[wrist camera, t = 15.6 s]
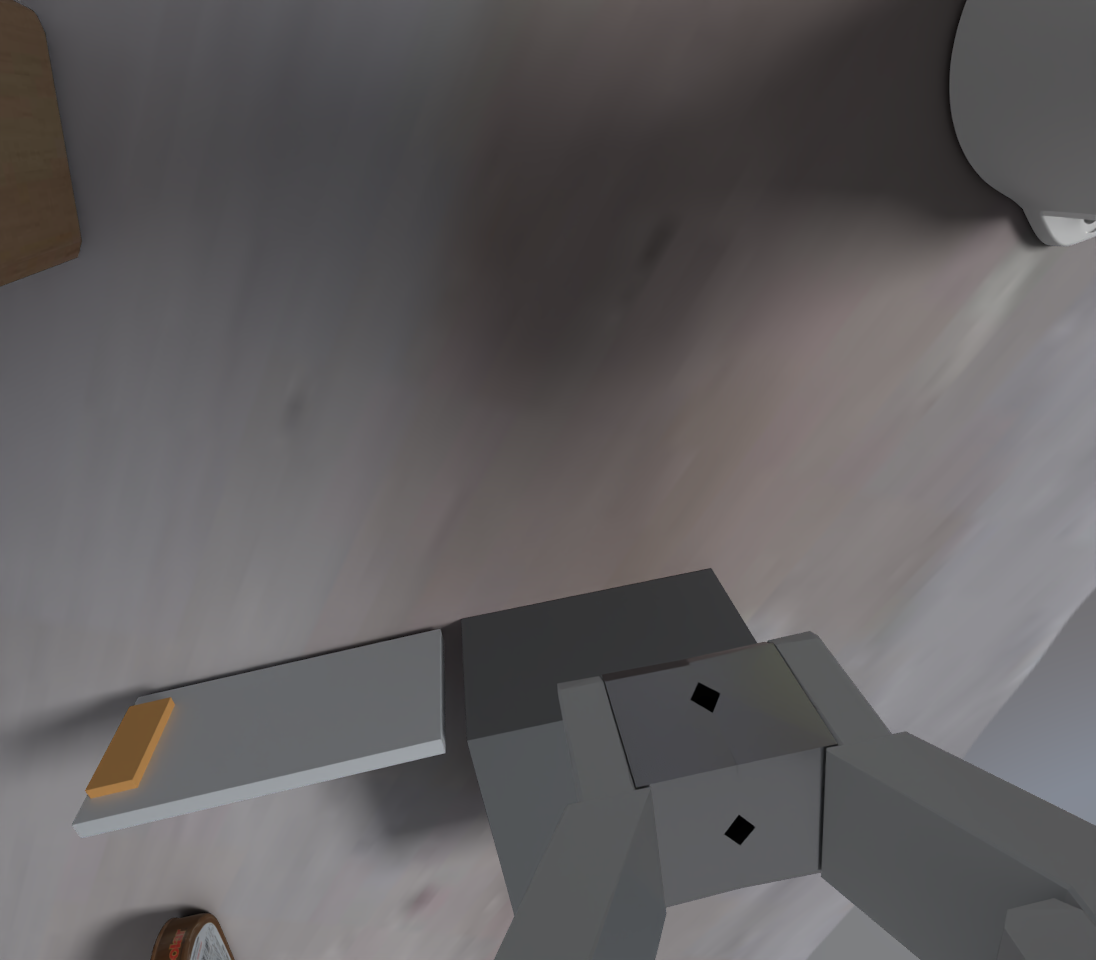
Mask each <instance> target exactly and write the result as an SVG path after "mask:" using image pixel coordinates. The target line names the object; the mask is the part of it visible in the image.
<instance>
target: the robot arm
mask: <svg viewBox="0 0 1096 960" xmlns="http://www.w3.org/2000/svg"><path fill="white" fill-rule="evenodd" d="M949 93H950V106H951V114H952V119H953V124H954V128H955V132H956V135H957V138H958V141H959V143H960V146H961V148H962V150H963V152H964V154H965V156H966V158H967V160H968V161H969V163H970V164H971V166H972V167H973V168H974V170H975V171H976V172H977V173H978V175H979V176H980V177H981V178H982V179H983V180H984V181H985V182H987V183H988V184H989V185H990V186H991V187H993V188H994V189H996V190H997V191H999V192H1000V193H1002V194H1004V195H1005V196H1007V197H1009V198H1010V199H1012V200H1013V201H1014V202H1016V203H1017V204H1018V205H1019V206H1020V207H1021V208H1022V209H1023V211H1024V213H1025V215H1026V217H1027V219H1028V221H1029V223H1030V225H1031V227H1032V229H1033V231H1034V232H1035V234H1036V235H1037V237H1038V238H1039V239H1040V240H1041V241H1042V242H1043V243H1044V244H1046V245H1049V246H1071V245H1074V244H1077V243H1080V242H1082V241H1085V240H1087V239H1090V238H1093V237H1095V236H1096V0H967V1H966V4H965V6H964V9H963V12H962V15H961V18H960V21H959V25H958V28H957V32H956V36H955V41H954V46H953V51H952V57H951V66H950V80H949ZM557 688H558V697H559V703H560V708H561V713H562V719H563V724H564V730H565V735H566V741H567V746H568V751H569V757H570V762H571V768H572V773H573V778H574V784H575V789H576V795H577V800H578V803H573V804H569V805H566V808H565V810H564V812H563V814H562V816H561V818H560V820H559V822H558V825H557V827H556V829H555V831H554V833H553V835H552V837H551V840H550V842H549V844H548V846H547V848H546V850H545V852H544V854H543V857H542V859H541V861H540V863H539V865H538V867H537V869H536V871H535V874H534V876H533V878H532V880H531V882H530V884H529V886H528V888H527V891H526V893H525V895H524V897H523V899H522V901H521V903H520V906H519V908H518V910H517V912H516V914H515V916H514V918H513V920H512V923H511V925H510V927H509V929H508V931H507V933H506V935H505V937H504V940H503V942H502V944H501V946H500V948H499V950H498V952H497V954H496V957H495V959H494V960H655V958H656V954H657V950H658V946H659V942H660V938H661V933H662V929H663V925H664V921H665V917H666V907H670V906H674V905H678V904H682V903H685V902H689V901H693V900H697V899H701V898H705V897H709V896H713V895H716V894H720V893H724V892H728V891H732V890H736V889H740V888H744V887H750V886H755V885H760V884H765V883H770V882H775V881H780V880H785V879H790V878H796V877H801V876H806V875H811V874H816V873H821V877H822V878H823V879H824V880H826V881H827V882H828V883H829V884H830V885H832V886H833V887H834V888H835V889H836V890H838V891H839V892H840V893H841V894H842V895H844V896H845V897H846V898H847V899H848V900H850V901H851V902H852V903H853V904H854V905H856V906H857V907H858V908H859V909H860V910H862V911H863V912H864V913H865V914H866V915H868V916H869V917H870V918H871V919H872V920H874V921H875V922H876V923H877V924H879V925H880V926H881V927H882V928H884V930H886V931H887V932H888V933H889V934H890V935H892V936H893V937H894V938H895V939H896V940H898V941H899V942H900V943H901V944H902V945H904V946H905V947H906V948H907V949H908V950H910V951H911V952H912V953H913V954H914V955H916V956H917V957H918V958H919V959H920V960H1096V826H1095V825H1093V824H1091V823H1089V822H1087V821H1085V820H1083V819H1081V818H1079V817H1077V816H1075V815H1073V814H1071V813H1069V812H1067V811H1065V810H1063V809H1061V808H1059V807H1057V806H1055V805H1053V804H1051V803H1049V802H1047V801H1045V800H1043V799H1041V798H1039V797H1037V796H1035V795H1033V794H1030V793H1029V792H1027V791H1025V790H1023V789H1021V788H1019V787H1017V786H1015V785H1012V784H1010V783H1009V782H1006V781H1004V780H1002V779H1000V778H998V777H996V776H994V775H992V774H990V773H988V772H986V771H984V770H982V769H980V768H978V767H976V766H974V765H972V764H970V763H968V762H966V761H964V760H962V759H960V758H958V757H956V756H954V755H952V754H950V753H948V752H946V751H944V750H942V749H940V748H938V747H936V746H934V745H932V744H930V743H928V742H926V741H924V740H922V739H920V738H918V737H916V736H914V735H912V734H910V733H908V732H901V733H896V734H892V733H891V732H890V731H889V729H888V728H887V727H886V725H885V724H884V723H883V721H882V720H881V719H880V717H879V716H878V715H877V713H876V712H875V711H874V709H873V708H872V707H871V705H870V704H869V703H868V701H867V700H866V699H865V697H864V696H863V695H862V693H861V692H860V691H859V689H858V688H857V687H856V685H855V684H854V683H853V681H852V680H851V679H850V677H849V676H848V675H847V673H846V672H845V671H844V669H843V668H842V667H841V665H840V664H839V663H838V661H837V660H836V659H835V657H834V656H833V655H832V653H831V652H830V651H829V650H828V648H827V647H826V646H825V644H824V643H823V642H822V640H821V639H820V638H819V636H818V635H816V634H814V633H812V632H811V631H808V632H803V633H799V634H795V635H790V636H786V637H781V638H777V639H772V640H768V642H761V643H757V644H752V645H747V646H743V647H738V648H734V649H729V650H724V651H720V652H715V653H711V654H706V655H701V656H697V657H692V658H687V659H683V660H678V661H673V662H667V663H662V664H657V665H651V666H646V667H640V668H635V669H629V670H624V671H618V672H613V673H607V674H602V675H601V678H600V676H597V677H591V678H585V679H580V680H574V681H569V682H563V683H558V684H557Z"/></svg>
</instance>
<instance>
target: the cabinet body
mask: <svg viewBox="0 0 1096 960" xmlns="http://www.w3.org/2000/svg"><path fill="white" fill-rule="evenodd" d="M461 626H462V648H463V669H464V690H465V711H466V733H467V743H468V747H469V750H470V754H471V758H472V761H473V765H474V769H475V772H476V776H477V780H478V783H479V787H480V791H481V794H482V798H483V802H484V805H485V809H486V813H487V816H488V820H489V824H490V827H491V831H492V835H493V838H494V842H495V846H496V850H497V853H498V857H499V861H500V864H501V868H502V872H503V875H504V879H505V883H506V886H507V890H508V894H509V897H510V901H511V905H512V908H513V912H514V916H515V914H516V912H517V910H518V908H519V906H520V903H521V901H522V899H523V897H524V895H525V893H526V891H527V888H528V886H529V884H530V882H531V880H532V878H533V876H534V874H535V871H536V869H537V867H538V865H539V863H540V861H541V859H542V857H543V854H544V852H545V850H546V848H547V846H548V844H549V842H550V840H551V837H552V835H553V833H554V831H555V829H556V827H557V825H558V822H559V820H560V818H561V816H562V814H563V812H564V810H565V808H566V805H569V804H573V803H578V800H577V795H576V789H575V784H574V778H573V773H572V768H571V762H570V757H569V751H568V746H567V741H566V735H565V730H564V724H563V719H562V713H561V708H560V703H559V697H558V688H557V684H558V683H563V682H569V681H574V680H580V679H585V678H591V677H597V676H600V678H601V675H602V674H607V673H613V672H618V671H624V670H629V669H635V668H640V667H646V666H651V665H657V664H662V663H667V662H673V661H678V660H683V659H687V658H692V657H697V656H701V655H706V654H711V653H715V652H720V651H724V650H729V649H734V648H738V647H743V646H747V645H752V644H757V642H756V640H755V639H754V637H753V636H752V634H751V632H750V631H749V629H748V627H747V626H746V624H745V623H744V621H743V619H742V618H741V616H740V614H739V613H738V611H737V609H736V608H735V606H734V605H733V603H732V601H731V600H730V598H729V596H728V595H727V593H726V592H725V590H724V588H723V587H722V585H721V583H720V582H719V580H718V578H717V577H716V575H715V574H714V572H713V570H712V569H706V570H701V571H696V572H691V573H686V574H681V575H676V576H671V577H667V578H662V579H657V580H652V581H647V582H642V583H637V584H632V585H627V586H622V587H617V588H612V589H608V590H603V591H598V592H593V593H588V594H583V595H578V596H573V597H568V598H563V599H558V600H554V601H549V602H544V603H539V604H534V605H529V606H524V607H519V608H514V609H509V610H504V611H499V612H495V613H490V614H485V615H480V616H475V617H470V618H465V619H461Z"/></svg>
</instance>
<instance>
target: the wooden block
mask: <svg viewBox="0 0 1096 960" xmlns="http://www.w3.org/2000/svg"><path fill="white" fill-rule="evenodd" d="M81 242H82V239H81V233H80V228H79V222H78V216H77V211H76V205H75V199H74V194H73V188H72V182H71V177H70V171H69V165H68V160H67V154H66V148H65V143H64V137H63V131H62V126H61V120H60V114H59V109H58V103H57V97H56V92H55V86H54V80H53V75H52V69H51V63H50V58H49V52H48V46H47V41H46V35H45V32H44V30H43V28H42V25H41V23H40V21H39V19H38V17H37V15H36V14H35V13H34V11H33V10H31V9H29V8H27V7H25V6H23V5H21V4H19V3H17V2H15V1H13V0H0V286H3V285H5V284H8V283H11V282H13V281H16V280H19V279H21V278H24V277H27V276H29V275H32V274H35V273H37V272H40V271H43V270H45V269H48V268H51V267H53V266H56V265H59V264H61V263H64V262H67V261H69V260H72V259H75V258H77V257H78V255H79V252H80V246H81Z"/></svg>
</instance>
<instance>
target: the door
mask: <svg viewBox="0 0 1096 960" xmlns="http://www.w3.org/2000/svg"><path fill="white" fill-rule="evenodd" d="M444 753H446V752H445V671H444V639H443V636H442V633H441V629H437V630H432V631H428V632H424V633H419V634H415V635H410V636H406V637H402V638H397V639H393V640H388V641H384V642H380V643H375V644H371V645H366V646H362V647H357V648H353V649H349V650H344V651H340V652H335V653H331V654H327V655H322V656H318V657H313V658H309V659H305V660H300V661H296V662H291V663H287V664H283V665H278V666H274V667H269V668H265V669H260V670H256V671H252V672H247V673H243V674H238V675H234V676H230V677H225V678H221V679H216V680H212V681H208V682H203V683H199V684H194V685H190V686H186V687H181V688H177V689H172V690H168V691H164V692H159V693H155V694H150V695H146V696H141V697H138V699H137V701H136V702H135V704H134V706H130V707H129V709H128V710H127V712H126V714H125V716H124V718H123V720H122V722H121V724H120V726H119V727H118V729H117V731H116V733H115V735H114V737H113V739H112V741H111V743H110V745H109V746H108V748H107V750H106V752H105V754H104V756H103V758H102V760H101V762H100V763H99V765H98V767H97V769H96V771H95V773H94V775H93V777H92V779H91V781H90V782H89V784H88V786H87V788H86V790H85V791H86V793H87V794H88V795H87V797H86V798H85V800H84V802H83V804H82V806H81V808H80V810H79V812H78V814H77V816H76V818H75V820H74V821H73V823H72V826H73V828H74V829H75V831H76V832H77V834H78V835H79V836H80V838H85V837H89V836H93V835H98V834H102V833H106V832H111V831H115V830H119V829H123V828H128V827H132V826H136V825H140V824H145V823H149V822H153V821H158V820H162V819H166V818H170V817H175V816H179V815H183V814H187V813H192V812H196V811H200V810H204V809H209V808H213V807H217V806H222V805H226V804H230V803H234V802H239V801H243V800H247V799H251V798H256V797H260V796H264V795H269V794H273V793H277V792H281V791H286V790H290V789H294V788H298V787H303V786H307V785H311V784H315V783H320V782H324V781H328V780H333V779H337V778H341V777H345V776H350V775H354V774H358V773H362V772H367V771H371V770H375V769H380V768H384V767H388V766H392V765H397V764H401V763H405V762H409V761H414V760H418V759H422V758H426V757H431V756H435V755H439V754H444Z"/></svg>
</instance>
